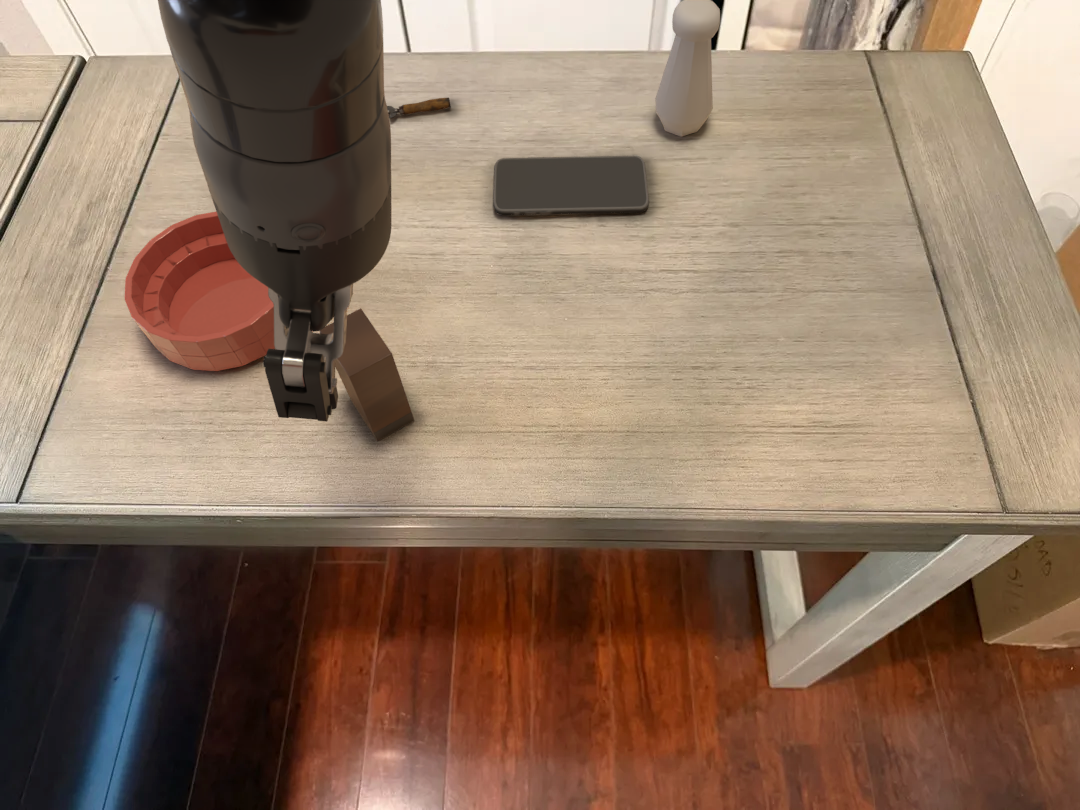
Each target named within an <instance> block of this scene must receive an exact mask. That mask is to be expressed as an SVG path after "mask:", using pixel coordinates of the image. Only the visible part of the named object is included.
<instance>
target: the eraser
mask: <svg viewBox="0 0 1080 810" xmlns="http://www.w3.org/2000/svg"><path fill="white" fill-rule="evenodd" d="M333 330H334V321H332V322H331V323H328V324H327V325H326V326H325V327H324V328H323V329H322V330H320V331H318V332H319V334H332V333H333ZM335 370H336V371H337V373H338V375H339V378H340V380H341V382H342V384H343V387H344V389H345V391H346V393H347V395H348V398H349V400H350V401H351V403H352V404H353V406H354V408H355V409H356V411H357V412H358V414H359V415H360V417H361V418H362V420H363V422H364V424H365V425H366V427H367V428H368V429H369V431H370V432H371V434H372V436H373V437H374V439H375V440H376V442H377V443H378V442H380V441H381V440H384V439H385V438H387V437H389V436H390V435H392V434H394V433H397V431H399V430H401V429H403V428H404V427H406V426H408V425H410V424H412V423H413V422H415V417H414V415H413V412H412V409H411V405H410V403H409V400H408V396H407V394H406V390H405V388H404V384H403V381H402V379H401V376H400V372H399V371H398V370H399V369H398V367H397V364H396V361H395V358H394V355H393V353H392V352H391V349H390V348H389V347H388V345H387V344H386V343H385V341H384V340H383V338H382V337H381V335H380V334H379V332H378V330H377V329H376V328H375V326H374V324H372V322H371V321H370V319H369V318H368V316H367V314H366V313H365V312H364V311H363V309H362V307H361V308H358V309H356V310H355V311H352V312H351V313H349V314H347V327H346V344H345V347H344V350H343V354H342V356H341V357H340V358H338V359H336V365H335Z"/></svg>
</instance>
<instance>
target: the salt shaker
mask: <svg viewBox="0 0 1080 810" xmlns="http://www.w3.org/2000/svg"><path fill="white" fill-rule="evenodd" d="M720 9H721V8H719V6H718V5H717V4H716V3H715V2H714V1H713V0H681V1H680V2H678V4H677V5H676V6H675V7H674V9H673V13H672V20H671V23H672V24H671V25H672V31H673V33H674V34H675V36H674V40H673V42H672V45H671V49H670V52H669V55H668V57H667V60H666V64H665V67H664V70H663V73H662V76H661V80H660V82H659V86H658V89H657V91H656V95H655V98H654V99H655V102H654V103H655V105H654V106H655V107H654V108H655V112H656V115H657V116H658V119H659V121H660V122H661V124H662V126H663V129H664V131H665V132H667V133H669V134H671V135H676V136H678V137H685V136H689V135H691V134H695V133H697V132H698V131H699V130H700V129H701V128H702V127H703V125H704V124H705V123H706V122H707V120H708V118H709V116H710V115H711V113H712V111H713V108H714V107H713V105H714V104H713V102H714V101H713V65H712V64H713V62H712V61H713V60H712V38H714V36H715V35H716V34H717V32H718V31H719V28H720V24H721V10H720Z"/></svg>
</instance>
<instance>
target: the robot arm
mask: <svg viewBox="0 0 1080 810" xmlns="http://www.w3.org/2000/svg"><path fill="white" fill-rule="evenodd" d="M157 4H158V10H159V14H160V20H161V23H162V27H163V30H164V35H165V38H166V42H167V44H168V46H169V50H170V54H171V56H172V60H173V63H174V66H175V69H176V72H177V75H178V79H179V81H180V84H181V87H182V90H183V94H184V96H185V100H186V103H187V108H188V110H189V111H188V112H189V121H190V128H191V129H190V130H191V135H192V140H193V141H192V142H193V145H194V148H195V152H196V155H197V158H198V161H199V164H200V167H201V171H202V173H203V176H204V178H205V182H206V184H207V187H208V191H209V194H210V197H211V200H212V203H213V207H214V208H215V212H217V215H218V218H219V221H220V224H221V227H222V230H223V232H224V235H225V238H226V241H227V244H228V247H229V249H230V251H231V253H232V254H233V256H234V258H235V259H236V260H237V262H238V263H239V264H240V265H241V266H242V268H243V269H245V270H246V271H247V272H248V273H249V274H250V275H251V276H253V277H254V278H255V279H257V280H258V281H260V282H261V283H262V284H264V285H265V286H267V287H268V296H269V298H270V300H271V301H272V302H273V304H274V347H275V349H268V351H267V354H266V355H265V356H263V361H262V363H263V368H264V371H265V376H266V379H267V382H268V383H267V384H268V386H269V390H270V393H271V396H272V400H273V404H274V407H275V410H276V414H277V417H278V418H280V419H290V418H292V419H301V420H316V421H318V422H329V416H332V412H333V410H336V409H337V407H338V402H339V401H338V400H339V393H338V378H336V367H335V365H336V359H338V358H340V357H341V356H342V354H343V350H344V347H345V344H346V327H347V315H348V308H349V307H350V304H351V301H352V299H353V295H354V284H356V283H357V282H359V281H360V280H362V279H364V278H365V277H366V276H368V274H369V273H371V272H372V271H373V270H374V268H375V267H376V266H377V265H378V264H379V263H380V261H381V260H382V258H383V256H384V255H385V253H386V251H387V250H388V249H387V248H388V246H389V243H390V239H391V234H392V130H391V122H390V118H389V116H390V114H389V115H388V110H387V106H388V105H387V101H386V95H385V64H384V60H385V59H384V56H385V55H384V54H385V53H384V19H383V5H382V0H157ZM332 320H333V322H334V330H333V333H332V334H320V332H319V331H320V330H322V329H323V328H324V327H325V326H327V325H329V324H330V322H331V321H332ZM318 332H319V333H318Z"/></svg>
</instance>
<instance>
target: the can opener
mask: <svg viewBox="0 0 1080 810" xmlns="http://www.w3.org/2000/svg"><path fill="white" fill-rule="evenodd" d="M451 107H452V106H451V100H450V97H439V98H431V99H427V100H424V101H420V102H413V103H406V104H402V105H399V106H398V108H395V107H394V106H392V105H387V110H388V115H389V119H393V118H394V117H396V116H397V114H399V115H400V116H402V115H404V116H407V115H412V114H417V113H425V112H435V111H442V110H446V109H449V108H451Z"/></svg>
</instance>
